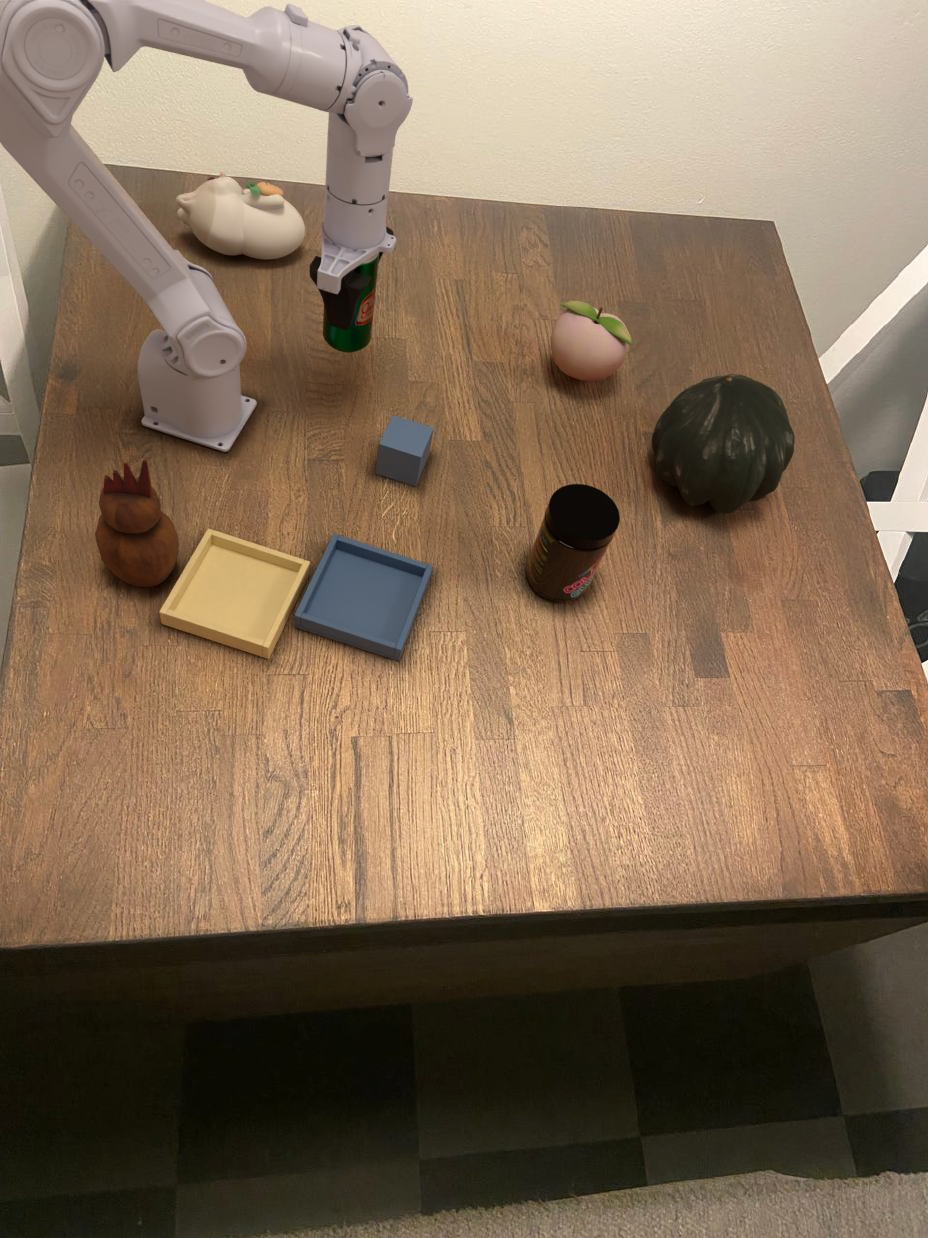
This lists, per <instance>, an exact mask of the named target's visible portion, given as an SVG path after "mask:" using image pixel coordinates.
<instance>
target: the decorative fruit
mask: <svg viewBox="0 0 928 1238" xmlns="http://www.w3.org/2000/svg"><path fill="white" fill-rule="evenodd" d="M560 306H561V307H563V308H565V310H564V311H563V312H562V313H561V314H560V315H559V316H558V318H557V319H556V320H555V323H554V325H553V328H552V330H551V335H550V351H551V355H552V359H553V361H554V363H555V364H556V366H557V367H558V368H559V369H560V371H562V372H563V373H564V374H566V375H567V376H569V377H571V378H573V379H576V380H579V381H582V382H590V383H591V382H592V383H593V382H599V381H603V380H604V379H606V378H609V377H610V376H611V375H613V374H614V373H616V371H617V370H618V369H619V368H620V367H621V366H622V365H623V363H624V362H625V360H626V358H627V356H628V352H629V349H630V346H633V340H632V336H631V334H630V332H629V330H628V328H627V326H626V324H625V323H624V322H623V321H622V320H621V319H620V318H619V317H618V316H617V315H615V314H613V313H612V314H611V313H606V312H603V310H604V308H603V306H601V307H599V310H598V309H597V308H596V307H594V306H592V305H591V304H589V303H587V302H585V301H582V300H570V301H569V300H568V301H565V302H562V303H560Z"/></svg>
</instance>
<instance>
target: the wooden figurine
mask: <svg viewBox="0 0 928 1238" xmlns="http://www.w3.org/2000/svg"><path fill="white" fill-rule="evenodd" d="M98 505H99V509H100V515H99V517H98V521H97V525H96V529H95V533H94V537H95V542H96V546H97V549H98V553H99V556H100V560H101V561H102V563H103V564H104V565H105V566H106V567H107V568H108V569H109V570H110V571H111V572H112V573H113V574H114V575H115V576H117V577H118V578H119V579H120V580H122V582H125V583H127V584H129V585H132V586H136V587H141V588H152V587H154V586H158V585H160V584H161V583H163V582H164V581H166V580H167V579H168V577H169V576H170V574H171V573H172V572H173V570H174V568H175V566H176V561H177V558H178V554H179V546H180V544H179V536H178V532H177V529H176V527H175V524H174V522H173V520H172V519H171V518H170V516H168V515H167V514H166V513H165V512H163V511H162V505H161V500H160V497H159V495H158V492H157V491H156V489H155V488H154V486H152V481H151V475H150V469H149V463H148V460H146V459H143V460H142V462H141V467H140V472H139V476H138V477H137V476H135V475H134V473H133V471H132V469H131V467H130V464H129V463H128V462H127V461H126V462H123V476H121V475H120V473H119V471H118V470H116V469H113V471H112V477H110V476H109V475H107V474H105V475H104V479H103V487H102V489H101V491H100V494H99V499H98Z"/></svg>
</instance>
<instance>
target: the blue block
mask: <svg viewBox="0 0 928 1238" xmlns="http://www.w3.org/2000/svg"><path fill="white" fill-rule="evenodd" d="M433 434H434V427H432V426H429V425H426V424H423V423H420V422H416V421H414V420H410V419H408V418H405V417H401V416H398V415H395V414H392V415H391V417H390V419H389V422H388V424H387V426H386V427H385V430H384V432H383V434H382V436H381V438H380V441H379V442H378V447H377V448H378V449H377V458H376V465H375V474H376V475H378V476H381V477H385V478H388V479H391V480H394V481H396V482H400V483H403V484H407V485H410V486H412V487H417V484H418V483H419V481H420V478H421V476H422V474H423V471H424V469H425V467H426V464H427V462H428V459H429V455H430V449H431V445H432V441H433V440H432V439H433Z"/></svg>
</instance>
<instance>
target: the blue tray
mask: <svg viewBox="0 0 928 1238" xmlns="http://www.w3.org/2000/svg"><path fill="white" fill-rule="evenodd" d="M433 570H434V565H432V564H428V563H425V562H424V561H423V562H422V561H419V560H416V559H413V558H410V557H407V556H405V555H401V554H398V553H394V552H391V551H389V550H386V549H382V548H380V547H377V546H374V545H370V544H367V543H364V542H361V541H359V540H355V539H352V538H349V537H346V536H342V535H340V534H336V533H333V534H332V535H331V537H330V540H329V541H328V543H327V546H326V548H325V549H324V552H323V554H322V556H321V557H320V560H319V563H318V565H317V566H316V569H315V570H314V573H313V575H312V577H311V579H310V581H309V584H308V586H307V588H306V590H305V592H304V593H303V596H302V598H301V600H300V602H299V605H298V606H297V609H296V611H295V613H294V617H293V624H294V625H293V627H294V628H295V629H299V630H302V631H304V632H305V631H306V632H308V633H311V634H315V635H317V636H320V637H324V638H327V639H329V640H332V641H335V642H338V643H342V644H345V645H348V646H351V647H354V648H358V649H360V650H363V651H366V652H369V653H372V654H376V655H379V656H381V657H384V658H388V659H391V660H394V661H397V662H400V660H401V658H402V655H403V652H404V650H405V647H406V645H407V642H408V639H409V637H410V634H411V632H412V630H413V629H412V628H413V626H414V623H415V621H416V618H417V616H418V613H419V610H420V609H421V605H422V602H423V600H424V598H425V594H426V591H427V589H428V586H429V584H430V582H431V578H432V574H433Z"/></svg>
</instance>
